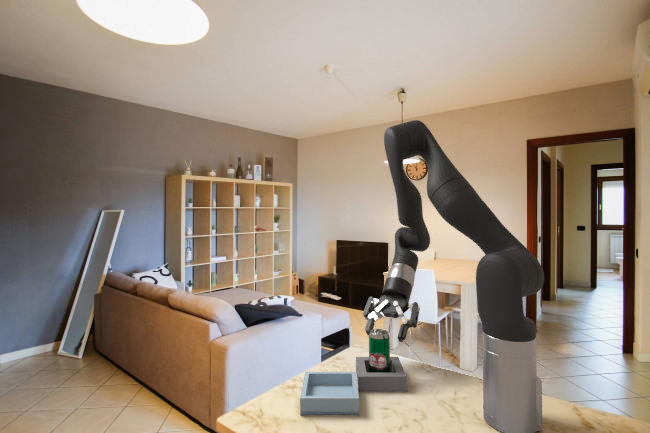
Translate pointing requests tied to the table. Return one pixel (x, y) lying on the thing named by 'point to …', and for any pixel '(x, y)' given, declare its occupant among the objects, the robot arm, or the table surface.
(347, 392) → the parts tray
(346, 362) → the table surface
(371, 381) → the socket block
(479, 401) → the table surface
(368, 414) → the table surface
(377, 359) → the soda can
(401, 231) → the robot arm
